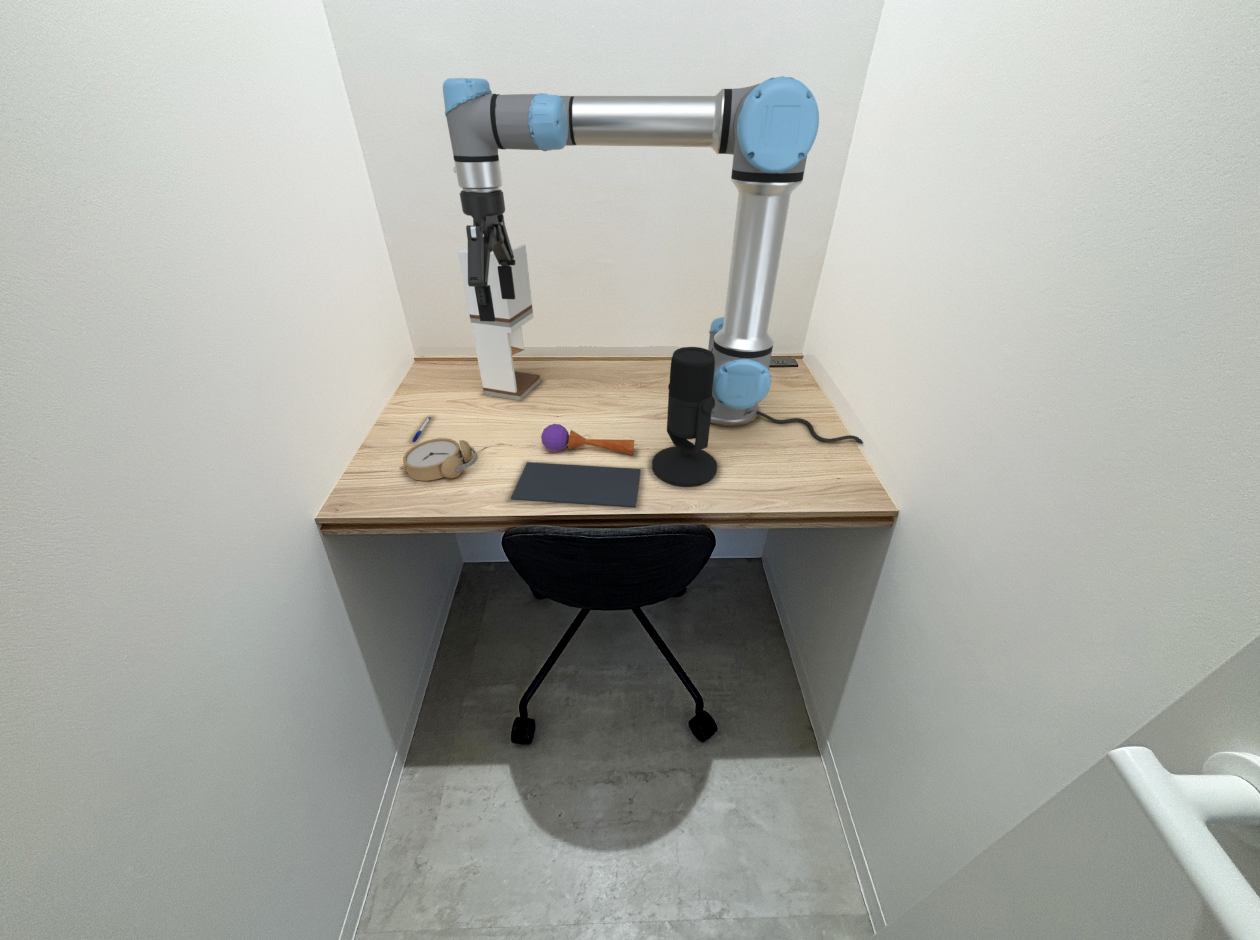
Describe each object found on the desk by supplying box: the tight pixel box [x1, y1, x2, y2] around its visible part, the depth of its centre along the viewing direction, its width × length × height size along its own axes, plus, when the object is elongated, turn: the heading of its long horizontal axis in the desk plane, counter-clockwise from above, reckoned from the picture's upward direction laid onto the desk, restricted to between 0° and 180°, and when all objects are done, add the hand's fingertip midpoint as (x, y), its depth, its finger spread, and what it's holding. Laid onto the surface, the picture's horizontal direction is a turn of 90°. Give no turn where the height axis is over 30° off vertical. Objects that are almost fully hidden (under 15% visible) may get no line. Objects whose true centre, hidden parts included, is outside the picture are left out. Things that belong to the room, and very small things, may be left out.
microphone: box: [651, 346, 718, 488], centre depth 98 cm, size 14×14×25 cm
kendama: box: [540, 423, 635, 456], centre depth 109 cm, size 6×6×20 cm
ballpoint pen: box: [412, 416, 431, 443], centre depth 117 cm, size 10×1×1 cm, turn 0°
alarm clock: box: [398, 437, 478, 482], centre depth 104 cm, size 11×5×15 cm
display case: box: [457, 244, 541, 401], centre depth 124 cm, size 11×11×35 cm
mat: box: [510, 461, 642, 508], centre depth 100 cm, size 24×12×1 cm, turn 84°
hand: (498, 309), depth 101 cm, fingers open, 13 cm apart
